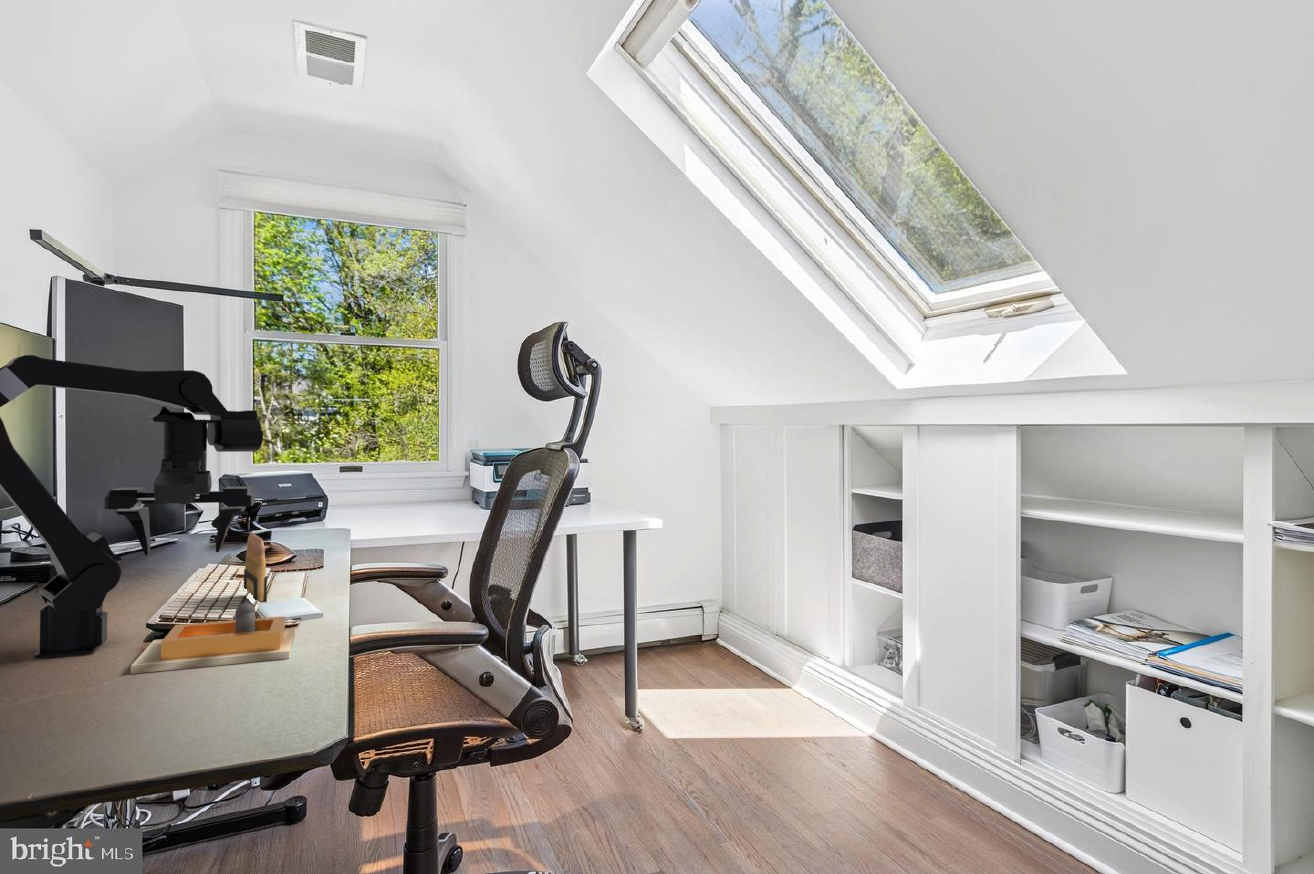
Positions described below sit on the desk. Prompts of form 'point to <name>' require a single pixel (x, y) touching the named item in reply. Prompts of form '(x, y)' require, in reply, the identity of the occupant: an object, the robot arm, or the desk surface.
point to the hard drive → (289, 609)
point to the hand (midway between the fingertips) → (183, 553)
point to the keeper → (243, 623)
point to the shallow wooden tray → (221, 638)
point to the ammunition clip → (255, 569)
